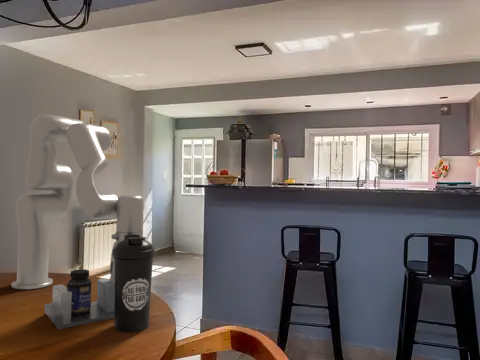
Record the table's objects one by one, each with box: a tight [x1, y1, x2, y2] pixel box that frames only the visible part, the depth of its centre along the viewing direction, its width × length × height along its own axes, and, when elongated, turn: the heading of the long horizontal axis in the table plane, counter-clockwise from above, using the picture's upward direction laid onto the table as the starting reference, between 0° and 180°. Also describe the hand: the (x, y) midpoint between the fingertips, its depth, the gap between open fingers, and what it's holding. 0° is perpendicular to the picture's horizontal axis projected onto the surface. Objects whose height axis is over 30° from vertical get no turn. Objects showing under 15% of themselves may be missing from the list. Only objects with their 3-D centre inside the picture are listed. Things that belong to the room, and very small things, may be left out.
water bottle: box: [112, 234, 155, 333], centre depth 98 cm, size 10×10×23 cm
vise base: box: [44, 283, 114, 330], centre depth 105 cm, size 14×19×8 cm
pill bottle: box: [66, 268, 92, 315], centre depth 104 cm, size 6×6×11 cm
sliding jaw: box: [96, 278, 114, 312], centre depth 109 cm, size 9×2×7 cm, turn 38°
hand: (127, 299), depth 113 cm, fingers closed
